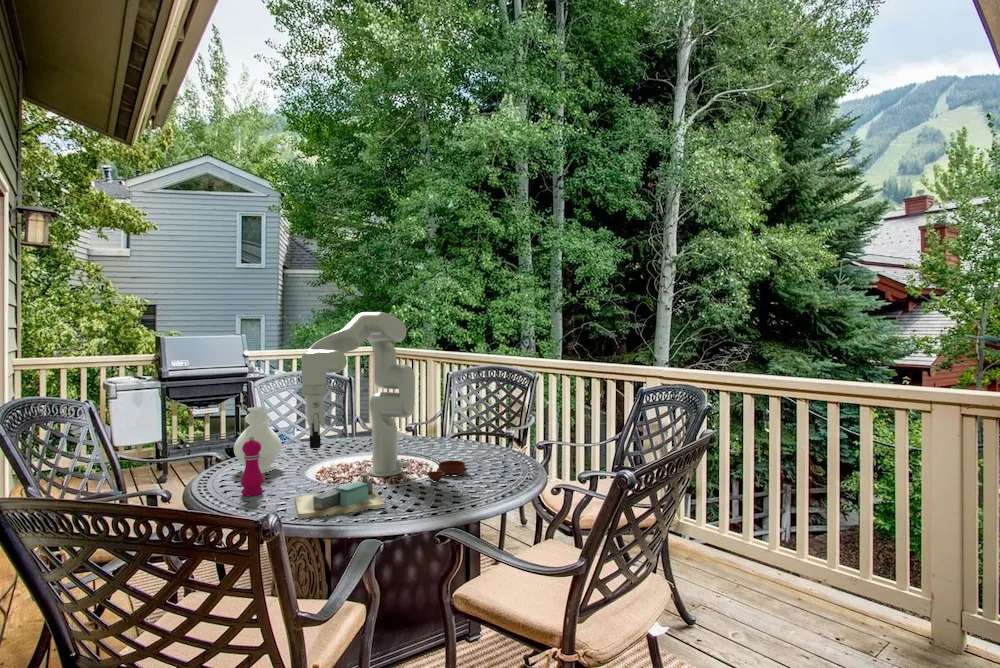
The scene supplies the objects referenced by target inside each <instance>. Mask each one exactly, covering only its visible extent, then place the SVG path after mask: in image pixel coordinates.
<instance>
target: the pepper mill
mask: <svg viewBox="0 0 1000 668" xmlns="http://www.w3.org/2000/svg"><path fill="white" fill-rule="evenodd" d="M249 440H250V441H247V442H245V443H244V445H243V447H242V450H243V452H244V453H245V455H244V459H245V461H246V467H245V466H244V468H245V471H244V473H242V476H241V477H240V478H241V479H240V485H241V486H242V487H243V489H242V491H241V492H242V496H246V497H253V496H260V495H261V494H262V493H263V487H262V484H263V483H264V476H263V473H261V471H260V469H259V465H258V459H259V458H260V457H259V455H260V454H259V452H260V450H261V444H260V443H259V442H258V441H256V440H254V436H250V437H249Z"/></svg>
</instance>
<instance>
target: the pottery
mask: <svg viewBox="0 0 1000 668" xmlns="http://www.w3.org/2000/svg"><path fill="white" fill-rule="evenodd" d="M466 471H468V468H467V467H466V463H465V462H464V461H461V460H445V461H441V462H439V463H438V467H437V469H436V470H434V471H429V472H427V473H426V474H427V476H428V477H429V479H430V480H431V481H432V480H433V481H439V480H440V481H441V479H442V478H443V477H444V476H445V475H449V476H448V477H450V476H452V475H458V474H460V475H461V474H462V473H465V472H466ZM444 474H445V475H444ZM458 476H459V475H458ZM452 477H453V476H452Z"/></svg>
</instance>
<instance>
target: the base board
mask: <svg viewBox="0 0 1000 668" xmlns="http://www.w3.org/2000/svg"><path fill="white" fill-rule="evenodd" d="M369 477H370V474H369V473H362V474H361V473H360V478H361V481H362V482H363V483H366V482H367V481H368V478H369ZM323 493H324V492H323ZM323 493H321V492H320V493H316V494H305V495H304V494H303V495H296V496H294V504H295V509H296V513H297V514H296V515H297V518H299V519H298V520H302V518H304V519H311V518H310V517H312V518H318V517H317V516H320V517H328V516H335V514H336V515H342V513H344V514H349V513H348V512H353V513H356V512H355V511H361V510H368V509H375V508H383V507H385V508H386V503H385V501H384V500H383V498H382V497H381V496H380V494H379V493H378V492H377V490H376V488H374V487H373V493H372V494H369V495H368V499H367V500H364V501H361V502H358V503H355V504H353V505H350V506H343V505H340V504H338V505H335V506H332V507H330V508H327V509H324V510H320V509H316V508H313V497H314V496H317V495H320V494H323ZM361 512H362V511H361ZM327 515H328V516H327Z"/></svg>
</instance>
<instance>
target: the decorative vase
mask: <svg viewBox="0 0 1000 668" xmlns="http://www.w3.org/2000/svg"><path fill="white" fill-rule="evenodd" d="M267 410H269V409H268V406H255V407H254V406H253V407H248V408H247V410H246V411H247V412H249V413H248V414H246V416H245V417H244V421H245V422H246V424H248V426H247V427H246V428H245V429H244V430H243V431H242V433H241V434H240V435H239V436H238V437H237V438H236V441H235V443H234V445H233V453H234V456H235V457H236V458H237V460H238V461H239V462H240V463H241V464H242V465H243V466H244V468H242V469H241V470H240V471H242V472H244V471H245V467H246V461H245V459H244V455H245V453H244V452H243V450H242V447H243V445H244V443H245V442H247V441H250V440H249V437H250V436H254V440H256V441H258V442H259V443H260V444H261V450H260V452H259V454H260V455H259V457H260V458H259V459H258V465H259V469H260V471H261V473H262V474H265V472H267V473H270V472H269V471H271V472H273V471H275V470H274V469H276V467H275V466H274V465H273V463H274V461H275V460H276V459H277V458H278V456H279V455H280V453H281V451H282V448H283V447H282V446H283V444H282V440H281V439H280V437H279V435H278V434H277V433H276V432H275V431H274V430H273V428H271V427H270V426H269V425H267V424H268V422H269V421H270V420H271V415H270V414H269V413H268V412H267ZM272 470H273V471H272ZM242 472H241V473H242Z"/></svg>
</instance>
